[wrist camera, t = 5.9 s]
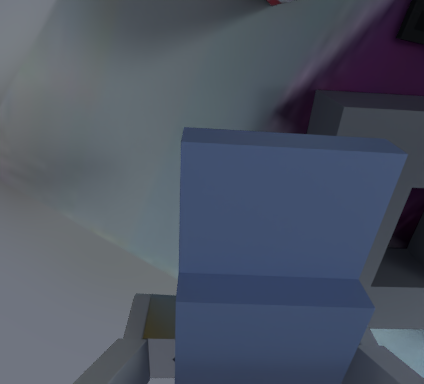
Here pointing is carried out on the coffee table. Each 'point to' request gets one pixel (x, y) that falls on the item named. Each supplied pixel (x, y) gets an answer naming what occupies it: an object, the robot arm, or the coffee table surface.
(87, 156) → the coffee table surface
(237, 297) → the block
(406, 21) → the calculator
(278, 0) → the ink box
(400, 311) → the plate
